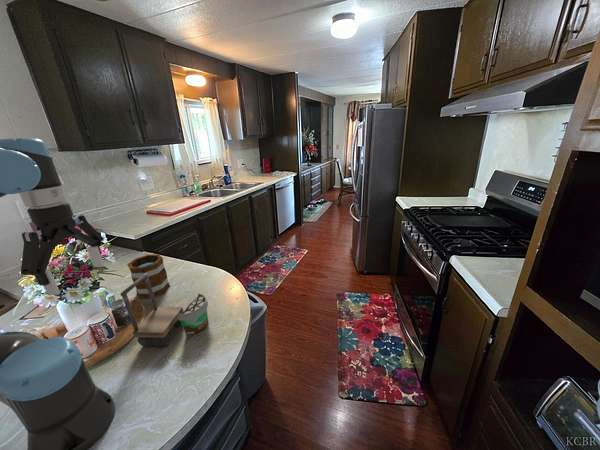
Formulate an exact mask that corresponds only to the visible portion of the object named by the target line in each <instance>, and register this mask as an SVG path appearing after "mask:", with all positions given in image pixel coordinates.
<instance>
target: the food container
mask: <svg viewBox="0 0 600 450" xmlns="http://www.w3.org/2000/svg"><path fill="white" fill-rule="evenodd" d="M208 306H209V301H208V300H207V297H206V296H205V295H204V294H203V293H197V297H196V298H195V299H194V300H193V301H191V302H190V303H189V304H188V306H187V307H186V308H185V309H184V310H183V313H182V314H178V315H179V316H178V320H180V321H181V323H182V325H181V326H182V328H183V331H184V334H185V336H186V337H187V336H188V337H190V336H195V335H198V334H200V333H202V332H203V331H205V329H207V328H208V326H209V315H208Z"/></svg>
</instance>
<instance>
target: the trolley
mask: <svg viewBox="0 0 600 450" xmlns="http://www.w3.org/2000/svg"><path fill="white" fill-rule="evenodd" d="M144 279H145V283H146V286H147V289H148V292H149V296H150V299H149V300H150V302H151V304H152V307H153V310H152V311H151V312H149V314H147V316H146V317H145V318H144V319H143V320H142V321H141V323H140V324H139V325H138V322H137V320H136V317H135V315H134V311H133V308H132V306H131V302H130V300H129V296H128V293H130V292H131V291H132V290H133V289H134V288H136V287H135V286H136V285H138V284H139V283H140V282H141V281H142V280H144ZM119 294H120V296H121V297H122V300H123V303H124V306H125V308H126V309H125V310H126V312H127V314H128V317H129V320H130V322H131V326H132V327H133V331H132V334H133V338H137V343H138V344H139V345H140V346H142V347H144V348H151V347H152V346H153V345H154V346H156V347H157V348H160V349H163V348H166V347H167V346H168V345H169V343H170V342H171V337H170V335H169V334H168V333H169V332H170V331H171V329H173V327H174V328H180V327H181V326H182V323H181V321H180V320H178V316H179V315H178V314H182V313H183V312H184V308H183V307H182V306H181V307H180V306H176V307H175V306H172V307H171V306H164V307H163V306H157V302H156V299H155V298H156V297H154V295H153V291H152V288H151V285H150V281H149V278H148V273H145V274H144V275H143V276H141V277H140V278H139V279H138V280H136V281H135V282H133V283H131V284H130V285H129V286H128V287H127V288H125V289H124V290H123V291H122V292H120V293H119Z"/></svg>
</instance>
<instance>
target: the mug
mask: <svg viewBox="0 0 600 450" xmlns="http://www.w3.org/2000/svg"><path fill="white" fill-rule="evenodd" d="M127 267H128V269H129V271H130V275H131V279H132V282H133V283H134V282H135V281H136V280H138V279H139V278H140V277H141V276H143V275H144V274H145V273H148V278H149V281H150V285H151V288H152V291H153V295H154V298H157V297H158V296H160V295H164V294H165V293H166V292H167V291H168V290H169V289H170V287H171V285H170V283H169V280H168V274H167V270H166V267H165V263H164V258H163V257H162V255H161V254H160V253H158V254H157V253H156V254H154V253H153V252H150V253H147V254H145V255H142V256H139V257H135V258H134V259H132V260H131V261H130V262H129V263H127ZM134 288H135V291H136V295H137V297H138V298H139V300H147V299H149V300H151V299H150V296H149V292H148V289H147V286H146V283H145V279H144V280H142V281H141V282H140V283H139V284H138V285H136V286H135V287H134Z"/></svg>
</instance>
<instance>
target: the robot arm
mask: <svg viewBox="0 0 600 450" xmlns="http://www.w3.org/2000/svg"><path fill="white" fill-rule="evenodd" d="M59 177H60V176H59V174H58V171H57V169H56V166H55V163H54V160H53V156H52V155H51V153H50V151H49V148H48V146H47V145H46V142H45V141H44V140H42V139H41V138H36V137H29V138H28V137H26V138H24V137H22V138H21V137H20V138H18V137H17V138H0V199H1V198H2V197H5V196H8V195H17V194H19V196H20V198H21V202H22V203H23V206H24V207H26V208H27V214H28V216H29V218H30V221H31V222H32V224H34V225H35V227H36V230H34V231H26V232H25V231H24V232H22V233H21V238H22V240H23V248H22V255H21V256H22V259H21V267H20V275H21V276H34V278H35V280H36V282H37V284H38V285H39V286H43V288H44V291H45V293H46V295H47V296H57V295H58V296H59V295H60V294H61V291H60V289H59V286H58V285H57V283H56V280H55V278H54V276H53V273H52V272H51V270H47V268H48V265H49V263H50V261H51V257H52V255H53V251H54V249H55V247H56V246H57V245H58V244H59V242H63V241H65V240H66V239H70V238H73V239H75V240H78V241H80V242H82V243H84V244H86V245H88V246H86V249H87V252H88V254H89V255H88V256H89V257H90V259H91V262H92V265H93V267H94V268H103V267H105V263H104V261H103V257H102V251H101V248H100V246H102V245H103V241H104V240H105V239H104V236H102V235H101V234H100V232H98V230H97V229H95V228H94V227H93V225H91V224H90V223H89V222H88V220H87V218H86V216H85V215H83V214H81V215H78V214H77V215H74V212H73V210H72V208H71V205H70V203H69V202H66V201H68V197H67V195H66V192H65V190H64V187H63V184H62V182H61V180H60V178H59ZM76 226H77V227H78V228H79V229H78V228H76ZM0 403H3V404H4V405H6V406H8V407H9V408H10V409H11V410H12V411H13V413H14V414H15V415H16V416H17V418H18V419H19V421H20V422H21V424H22V426H23V427H24V428H25V430H26V431H27V450H89V449H90V448H92V447H93V446H94V445H95V444H96V443H97V442H98V441H99V439H100V438H101V437H102V436H104V434H105V432H106V431H107V429H108V428H109V427H110V425H111V423H112V421H113V419H114V416H115V413H116V404H115V402H114V399H113V397H112V396H111V395H110V394H109V393H108V392H107V391H105V390H104V389H102V388H100V387H98V386H97V385H96V384H95V382H94V380H93V378H92V375H91V373H90V371H89V369H88V366H87V364H86V363H85V360H84V359H83V356H82V352H81V350H80V349H79V347H78V346H77V345H76V343H75V342H74V341H73V340H71V339H70V338H68V337H64V336H52V337H51V336H50V338H48V339H47V338H41V337H39V336H37V335H36V334H34V333H31V332H27V331H21V330H20V331H19V330H17V331H16V330H10V331H2V332H0Z"/></svg>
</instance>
